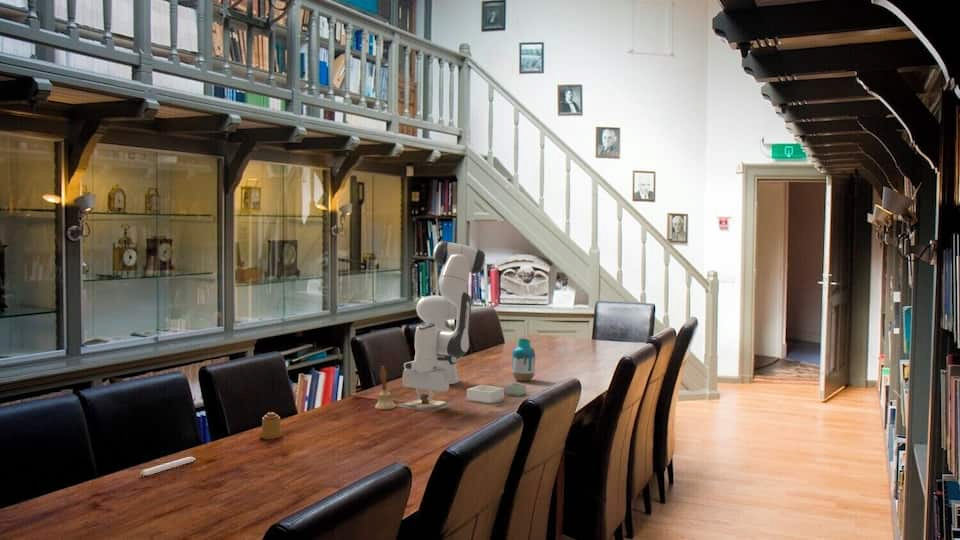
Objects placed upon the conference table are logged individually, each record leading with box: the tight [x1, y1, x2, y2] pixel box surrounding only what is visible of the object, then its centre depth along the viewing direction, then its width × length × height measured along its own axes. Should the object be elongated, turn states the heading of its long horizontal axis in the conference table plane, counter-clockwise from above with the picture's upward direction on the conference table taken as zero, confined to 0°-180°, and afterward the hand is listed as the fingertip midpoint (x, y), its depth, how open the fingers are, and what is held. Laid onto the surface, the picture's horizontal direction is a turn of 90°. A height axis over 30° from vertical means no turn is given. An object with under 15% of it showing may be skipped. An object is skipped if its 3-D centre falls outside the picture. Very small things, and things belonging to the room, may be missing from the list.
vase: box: [511, 338, 536, 382], centre depth 370 cm, size 11×11×19 cm
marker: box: [140, 456, 197, 475], centre depth 232 cm, size 18×2×2 cm, turn 149°
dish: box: [466, 384, 505, 405], centre depth 327 cm, size 11×11×5 cm
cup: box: [505, 382, 527, 397], centre depth 340 cm, size 6×6×4 cm
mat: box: [396, 398, 456, 413], centre depth 316 cm, size 18×16×1 cm
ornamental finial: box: [259, 411, 284, 440], centre depth 268 cm, size 8×8×8 cm
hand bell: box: [374, 365, 397, 410], centre depth 312 cm, size 8×8×16 cm
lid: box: [403, 393, 448, 410], centre depth 316 cm, size 12×12×4 cm
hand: (425, 400), depth 316 cm, fingers closed on lid, 3 cm apart
